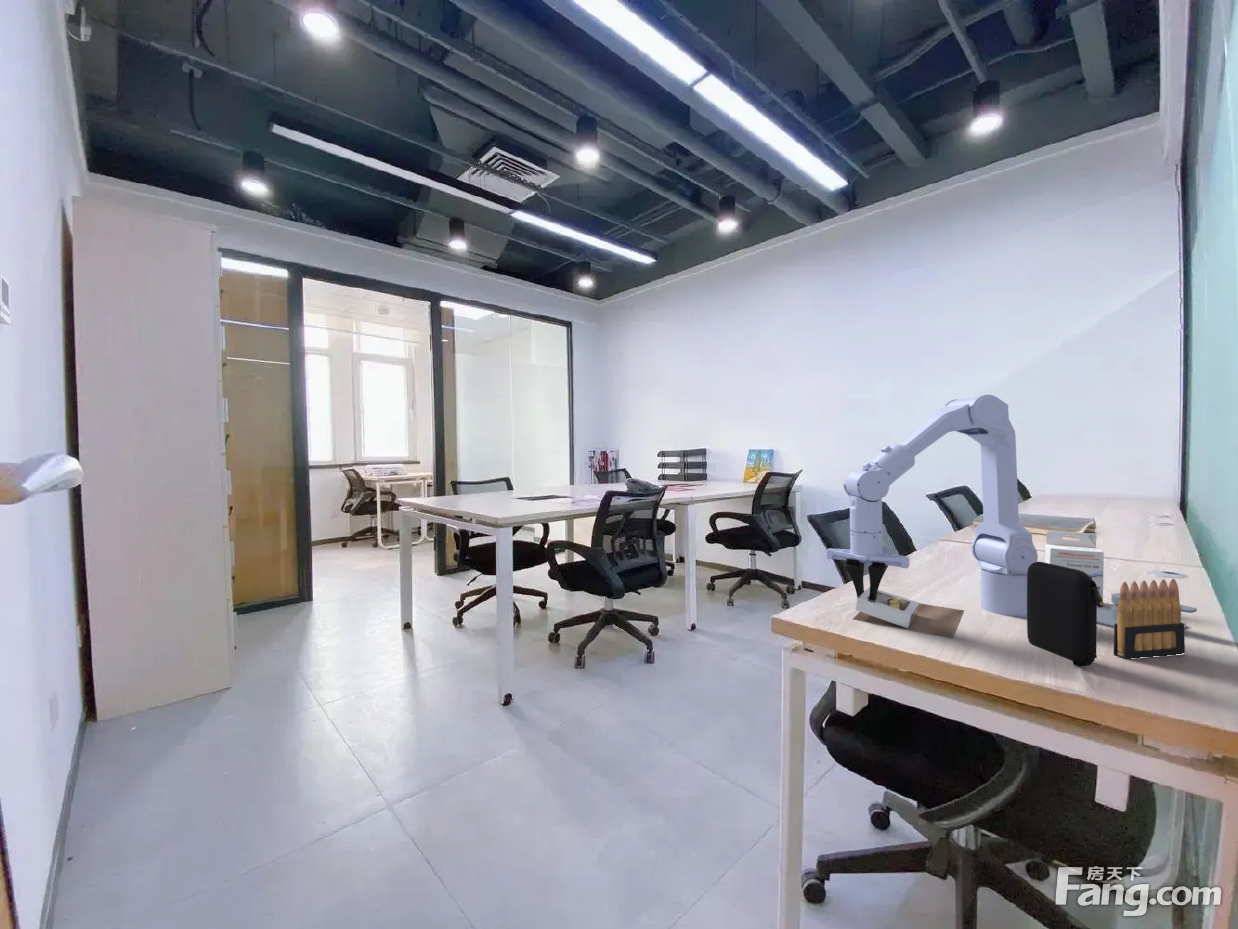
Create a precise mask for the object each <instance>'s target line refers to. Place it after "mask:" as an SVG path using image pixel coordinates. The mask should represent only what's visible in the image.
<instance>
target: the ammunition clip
mask: <svg viewBox="0 0 1238 929" xmlns="http://www.w3.org/2000/svg"><path fill="white" fill-rule="evenodd" d="M1119 593H1120V597H1119V605H1118V609H1117V623H1115V624H1114V628H1113V629H1114V630H1113V631H1114V632H1113V655H1114V656H1116V657H1118V658H1121V657H1122V659H1124V658H1125V659H1124V660H1127V659H1131V658H1140V657H1153V656H1167V655H1176V654H1182V653H1185V654H1186V645H1185V642H1186V641H1185V628H1184V623H1185V622H1182V611H1181V605H1182V604H1181V602H1180V590H1179V585H1178V583H1177V581H1176V579H1175V578H1172V579H1171V580H1170V582H1169V584H1168V583H1167V581H1166V580H1165V579H1162V580H1161V581H1160V583H1159V585H1158V584H1157V581H1156V580H1155V579H1152V580H1151V582H1150V584H1149V585H1148V583H1147V581H1146V580H1143V581H1142V582H1141V583H1140V586H1139V584H1138V583H1137V582H1136V581H1135V580H1134V581H1133V582H1132V583H1131V584H1130V587H1129V585H1128V583H1127V582H1126V581H1123V583H1121V586H1120V590H1119ZM1181 622H1182V623H1181ZM1131 660H1132V659H1131Z"/></svg>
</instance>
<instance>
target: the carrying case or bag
mask: <svg viewBox="0 0 1238 929" xmlns="http://www.w3.org/2000/svg"><path fill="white" fill-rule="evenodd" d="M1097 606H1098V607H1099V608H1101V607H1103V606H1104V599H1103V600H1102V597H1101V595H1100V591H1099V588H1098V587H1097V586H1096V583H1095V582H1094V581H1093V580H1092V578H1091V577H1090V576H1089V575H1088V574H1086V573H1085V572H1083V571H1081V570H1077V569H1072V568H1068V567H1063V566H1058V565H1054V564H1049V563H1045V561H1037V562H1034V563H1032V564H1031V565H1030V566H1029V568H1028V572H1027V618H1026V629H1027V630H1026V632H1027V634H1026V635H1027V640H1028V642H1029V644H1030V645H1032V646H1034V647H1037V648H1040V649H1042V650H1043V651H1044V650H1045V651H1047V652H1048V653H1049V652H1050V653H1052V654H1054V655H1057V656H1058V657H1059V656H1060V657H1062V658H1065V659H1067V660H1070V661H1072V663H1073V665H1074V666H1077V667H1081V668H1082V667H1085V668H1086V667H1089V666H1091V665H1092V664H1093V663H1094V661H1095V659H1097V657H1098V656H1097V639H1098V638H1097V635H1098V633H1097V630H1098V627H1097V625H1098V624H1097Z"/></svg>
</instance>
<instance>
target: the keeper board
mask: <svg viewBox="0 0 1238 929" xmlns="http://www.w3.org/2000/svg"><path fill="white" fill-rule="evenodd" d="M919 603H920V602H919ZM964 612H965V610H963V609H956V608H951V607H944V606H939V605H933V604H928V603H927V604H926V603H920V604H919V608H918V612H917V616H916V617H915V619H914V620H913V622H912V623H911V625H910V626H909V628H905V627H902V626H899V625H897V624H894V623H891V622H888V621H885V620H883V619H880V618H877V617H874V616H871V615H869V614H866V613H863V612H860V611H858V612H857V614H856V615H855V616H854V617H853V618H852V620H854V621H859V622H860V621H861V622H864V623H870V624H874V625H879V626H885V627H890V628H896V629H900V630H905V631H910V632H911V631H912V632H916V633H922V634H926V635H933V636H938V637H943V638H947V639H948V638H949V639H954V638H955V635H956V632H957V629H958V626H959V624H960V621H961V619H962V616H963V614H964Z"/></svg>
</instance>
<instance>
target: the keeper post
mask: <svg viewBox="0 0 1238 929" xmlns="http://www.w3.org/2000/svg"><path fill="white" fill-rule="evenodd" d="M887 605H888V606H891V607H894V608H897V609H899V601H898V600H897V599H896V598H893V597H892V598H889V599H888V601H887Z"/></svg>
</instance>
